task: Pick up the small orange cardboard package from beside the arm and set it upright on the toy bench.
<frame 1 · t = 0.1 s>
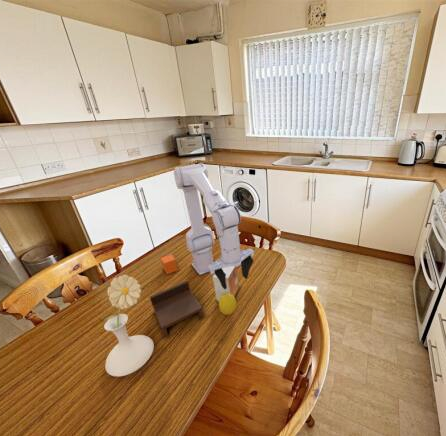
hand: (234, 282, 76), 10 cm above the table, tool pointing down, fingers open, 7 cm apart
flower in vase: (135, 356, 65), on the table
package: (170, 269, 100), on the table
toy bench: (179, 314, 77), on the table
small box: (228, 294, 85), on the table
lemon: (229, 313, 77), on the table
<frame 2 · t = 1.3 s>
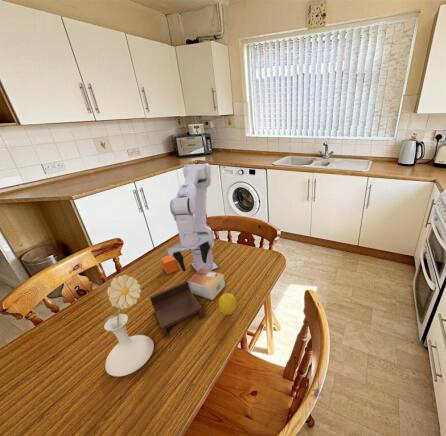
hand: (194, 266, 85), 10 cm above the table, tool pointing down, fingers open, 7 cm apart
small box: (219, 287, 85), point 3 cm above the table
everything else where it was.
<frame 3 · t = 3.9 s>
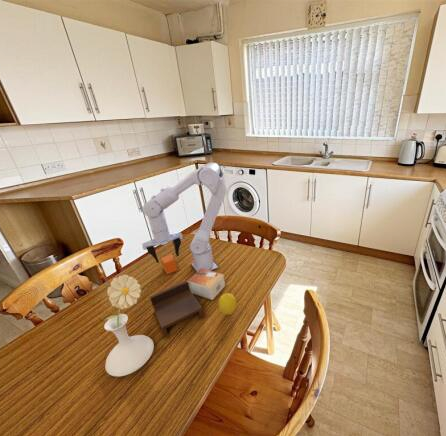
hand: (167, 258, 97), 6 cm above the table, tool pointing down, fingers open, 7 cm apart
nothing on the table moved.
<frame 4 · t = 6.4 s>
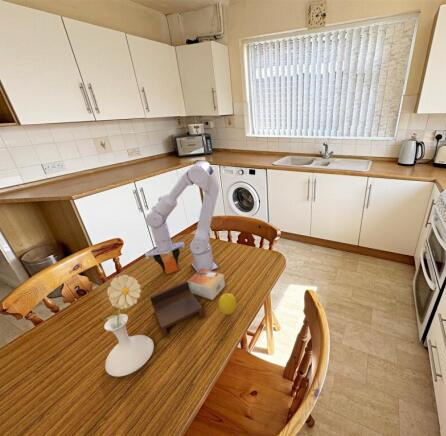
hand: (170, 266, 99), 1 cm above the table, tool pointing down, fingers closed on package, 4 cm apart
package: (170, 269, 100), on the table, touching gripper
everything else where it was.
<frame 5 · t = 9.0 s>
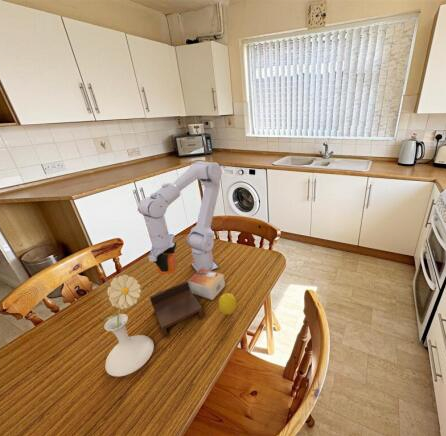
hand: (167, 266, 84), 10 cm above the table, tool pointing down, fingers closed on package, 4 cm apart
package: (168, 269, 85), point 9 cm above the table, touching gripper
everything else where it was.
when the fingers open (5 cm above the table, at t = 11.8 s): package stays where it is, resting on toy bench.
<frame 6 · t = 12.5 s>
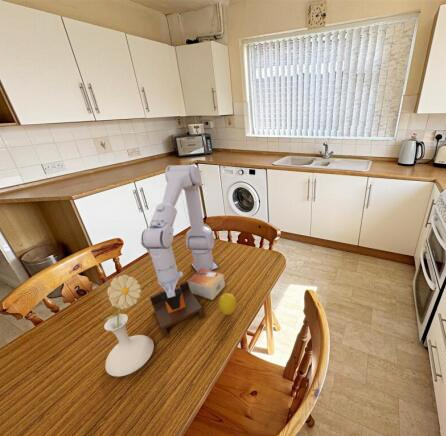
hand: (174, 300, 75), 6 cm above the table, tool pointing down, fingers open, 7 cm apart
package: (176, 305, 76), point 4 cm above the table, touching toy bench
everything else where it was.
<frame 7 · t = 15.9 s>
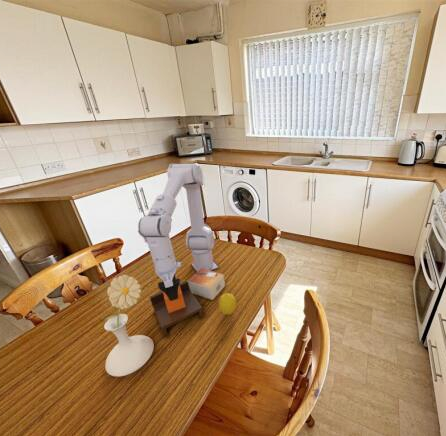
hand: (173, 291, 74), 10 cm above the table, tool pointing down, fingers open, 7 cm apart
nothing on the table moved.
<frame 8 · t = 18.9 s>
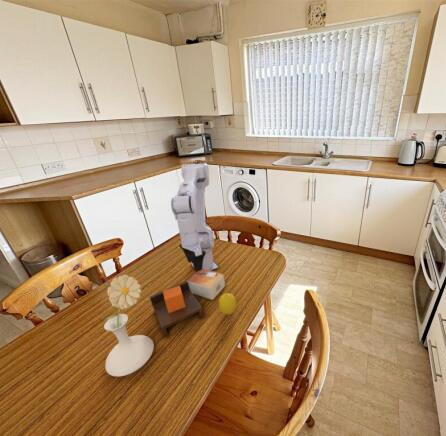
hand: (195, 265, 84), 10 cm above the table, tool pointing down, fingers open, 7 cm apart
nothing on the table moved.
at the end: package inside the target area on the toy bench (0.1 cm from its centre), point 4.0 cm above the toy bench's base; package tilted 0°; the gripper is holding nothing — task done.
